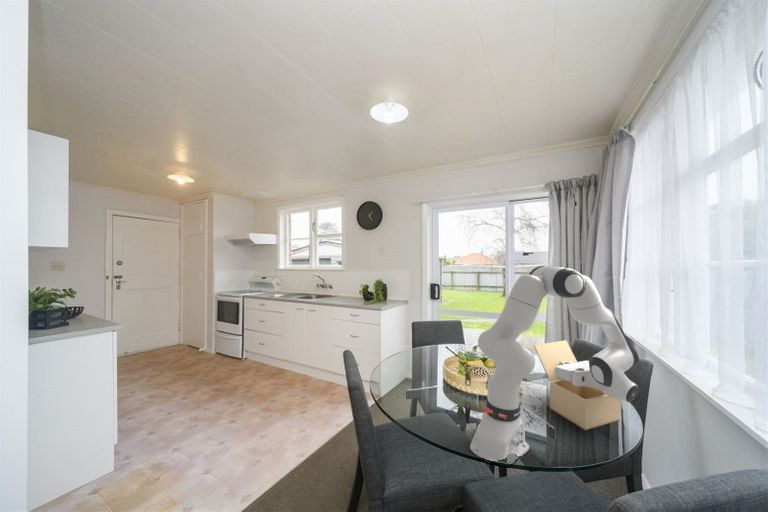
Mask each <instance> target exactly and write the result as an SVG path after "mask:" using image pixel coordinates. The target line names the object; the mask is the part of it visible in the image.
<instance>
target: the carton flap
mask: <svg viewBox="0 0 768 512" xmlns="http://www.w3.org/2000/svg"><path fill="white" fill-rule="evenodd" d="M533 348H534V350H535V352H536V354H537V357H538V358H539V361H540V363H541V365H542V368H543V369H544V372H545V374H546V376H547V378H548V379H547V380H548V381H549V382H552V381H557V380H562V378H560V377H558V376H557V375H556V374H555V366H559V362H561V361H566V362H571V363H576V362H578V360H577V358H576V357H575V355H574V353H573V350H572V349H571V347H570V345H569V343H568V341H567V340H559V341H552V342H546V343H545V342H544V343H539V344H534V345H533Z"/></svg>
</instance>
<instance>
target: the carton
mask: <svg viewBox="0 0 768 512" xmlns="http://www.w3.org/2000/svg"><path fill="white" fill-rule="evenodd" d="M549 389H550V391H549V392H550V394H549V409H550V410H552V411H554V412H555V413H556V414H558V415H560V416H562V417H563V418H565V419H566V420H567V421H569V422H571V423H573V424H574V425H575V426H577V427H579V428H580V429H582V430H583V431H587V430H591V429H594V428H597V427H601V426H604V425H608V424H611V423H614V422H615V423H616V422H618V421H621V407H622V406H621V403H622V401H620V400H617V399H615V398H612V397H610V396H608V395H606V394H604V393H603V392H602V391H600V390H596V389H593V388H591V387H584V386H575V385H573V384H572V382H568V381H566V380H564V379H559V380H554V381H550V387H549Z"/></svg>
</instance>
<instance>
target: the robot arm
mask: <svg viewBox="0 0 768 512" xmlns="http://www.w3.org/2000/svg"><path fill="white" fill-rule="evenodd" d="M517 278H518V279H517V280H516V281H515V283H514V284H513V286H512V289H511V290H510V292H509V294H508V297H507V298H506V302H505V304H504V306H503V310H502V311H501V314H500V315H499V317H498V319H497V320H496V321H495V322H494V323H493V324H492V326H491V327H490V328H488V329H487V330H484V331H483V332H482V333H481V334H480V335H479V336H478V339H477V344H478V348H479V350H480V351H481V353H482V354H483V355H484V356H485V357H486V358H487V359H489V360H490V361H492V362H493V363H494V365H495V370H494V374H491V375H490V376H489V377H488V379H487V396H486V400H485V404H484V405H485V406H483V408H482V412H483V413H482V416H481V420H480V422H479V424H478V425H477V427H476V430H475V432H474V435H473V438H472V440H471V443H470V445H469V449H470V450H471V452H472V453H473V454H475V455H476V456H478V457H479V458H480V457H481V459H482V458H484V459H486V460H490V461H497V460H502V459H505V458H506V457H507V455H509V454H510V453H514V454H516V455H517V456H518V457H519V456H521V457H523V455H525V454H526V453H527V452H528V451H529V450H530V445H529V443H527V442H526V435H525V434H526V433H525V431H526V430H525V423H524V421H523V420H522V417H521V411H522V410H521V409H522V408H521V403H520V391H521V390H520V389H521V384H522V380H523V379H524V377H526V376H529V375H530V374H531V373H532V372H533V370H534V368H535V365H536V359H535V355H534V354H533V353H532V352H531V351H530V349H528V348H527V347H526V346H525V345H524V344H522V343H520V342H518V341H517V339H518V337H520V335H521V334H522V333H524V332H527V331H529V330H531V329H532V327H533V325H534V323H535V320H536V318H537V315H538V312H539V309H540V307H541V305H542V301H543V299H544V298H545V297H546V296H547V295H549V296H553V297H558V298H559V297H561V298H565V302H566V304H567V307H568V311H569V313H570V315H571V317H572V319H574V320H575V321H576V322H577V323H579V324H581V325H585V326H592V327H596V326H600V327H601V329H602V330H603V332H604V334H605V336H606V337H607V340H608V345H607V346H606V347H605V348H603V349H602V350H600V351H598V352H596V353H595V354H593V356H591V357H590V358H589V359H588V360H581V361H577V362H576V363H571V362H566V361H561V362H559V366H555V374H556V375H557V376H558V377H560V378H562V379H564V380H566V381H568V382H572V384H573V385H575V386H584V387H591V388H593V389H596V390H600V391H602V392H603V393H604V394H606V395H608V396H610V397H612V398H615V399H617V400H620V401H621V402H624V403H629V402H632V401H634V400H635V399H636V397H638V395H639V386H638V385H637V383H635V382H633V381H632V380H630V378H628V377H627V375H626V374H625V372H627V371H628V370H629V369H632V368H634V367H635V366H637V365H638V364H639V361H640V357H639V354H638V352H637V351H636V349H635V348H634V347H633V345H632V344H631V343H630V341H629V339H628V338H627V336H626V334H625V332H624V330H623V328H622V326H621V324H620V322H619V321H618V319H617V317H616V315H615V314H614V313H613V312H612V310H611V309H609V308H607V307H606V306H605V305H604V303H603V302H602V299H601V295H600V293H599V292H598V290H597V287H596V286H595V284H594V282H593V281H592V279H591V278H590V277H588V276H586V275H583V274H582V273H580V272H579V271H577V270H575V269H573V268H570V267H569V268H568V267H561V266H557V265H547V266H546V265H540V266H537V267H535V268H533V269H531V271H530V272H529V273H527V274H522V275H521V276H519V277H517ZM562 379H561V380H562ZM484 459H483V460H484ZM486 460H485V461H486Z"/></svg>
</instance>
